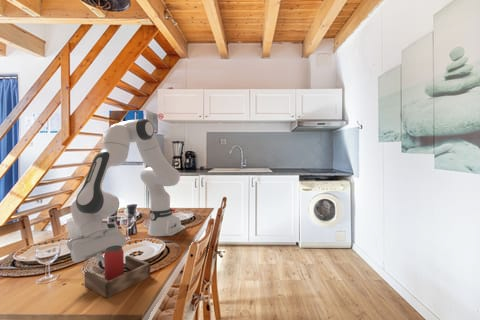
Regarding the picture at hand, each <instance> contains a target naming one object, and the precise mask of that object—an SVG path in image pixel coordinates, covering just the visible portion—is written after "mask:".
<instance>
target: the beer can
mask: <svg viewBox="0 0 480 320" xmlns="http://www.w3.org/2000/svg"><path fill="white" fill-rule="evenodd" d="M124 254H125V253H124V249H123V247H122V246H118V245H117V246H111V247H108V248H107V249H106V252H105V253H104V254H103V255H104V256H103V258H104V279H106V280H108V281H109V280H112V279H114V278H116V277H118V276H120V275H123V274H125V267H124V266H125V257H124V256H125V255H124Z"/></svg>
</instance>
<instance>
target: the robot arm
mask: <svg viewBox="0 0 480 320" xmlns="http://www.w3.org/2000/svg"><path fill="white" fill-rule="evenodd" d="M154 131H155V128H154V125H153V123H152V122H151V121H150V120H149V119H146V118H140V119H129V120H126V121H120V122H119V121H118V122H116V123H114V124H112V125H111V126H109V127H108V129H107V131H106V132H105V133H106V134H105V136H104V137H103V142H102V147H101V149H100V151H99V152H98V153H97V154H96V155H95V156H94V158H93V160H92V163H91V165H90V168H89V170H88V172H87V175H86V178H85V179H84V180H85V181H84V183H83V185H82V186H81V188H80V191H78V194H77V195H76V198H75V200H74V201H73V202H72V203H71V205H70V213H71V218H73V220H74V222H75V224H76V225H77V226H78V231H79V233H80V237H77V238H69V240H68V241H67V242H66V246H67V248H68V250H69V252H70V256H71V260H72V262H73V263H76V264H78V263H81V262H83V261H86V260H90V259H92V258H95V259H96V260H98V261H99V262H101V264H102V266H103V265H104V256H102V255H105V252H106V249H107V248H108V247H111V246H117V245H118V246H122V248H123V247H124V246H125V245H126V243H127V238H126V237H125V235H124V233H123V232H122V231H121V229H119V228H118V227H119V226H118V225H117V223H114V222H113V223H112V222H109V223H108V222H103V220H106V219H107V218H110V217H111V216H113V215H114V214H115V213H117V211H118V210H119V208H120V200H119V198H118V197H117V196H116V195H115V194H112V193H109V192H106V191H104V190H103V189H102V185H103V183H104V180H105V177H106V173H107V170H108V169H109V168H110V167H112V168H113V167H118V166H122V165H123V164H124V163H126V161H127V159H128V156H129V151H130V143H136V146H137V149H138V152H139V154H140V156H141V159H142V161H143V163H144V164H145V165H146V166H147V167H145V168H143V169H141V171H140V180H141V181H142V183H143V184H144V185H145V186H146V188H147V191H148V194H149V205H150V206H149V207H150V209H149V226H148V231H147V235H148V236H151V237H169V236H171V237H172V236H174V235H175V234H178V233H179V232H182V231H183V230H185V229H186V226H184V225H182V222H181V219H180V218H179V217H178V216H177V215H175V214H173V212H176V208H175V207H171V196H170V194H169V193H168V192H167V190H166V189H165V187H171V186H176V185H177V184H179V182H180V180H181V173H180V172H179V170H178V169H177V168H175V167H173V166H172V165H171V163H170V162H168V160H167V159H166V157H165V156H164V154H163V152H162V149H161V146H160V144H159V141H158V139H157V136H156V135H155V132H154Z"/></svg>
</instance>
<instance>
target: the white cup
mask: <svg viewBox="0 0 480 320" xmlns="http://www.w3.org/2000/svg"><path fill="white" fill-rule="evenodd" d="M66 224H67V225H66V227H67V235H68V237H67V238H68V239H73V238H77V237H80V233H79V231H78V226H77V225H76V224H75V222H74V220H73V217H70V218H67V219H66Z"/></svg>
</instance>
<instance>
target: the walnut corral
mask: <svg viewBox="0 0 480 320" xmlns="http://www.w3.org/2000/svg"><path fill="white" fill-rule="evenodd" d="M124 256H125V255H124ZM125 263H126V267H127V268H128V269H130V270H129V271H127V272H124V274H123V275H120V276H118V277H116V278H114V279H112V280H109V281H108V280H106V279H105V277H104V278H103V277H101V276H99V275H97V274H94V273H93V272H91V271H88V270H87V271H85V272H84V286H85V288H88V289H90V290H92V291H93V292H95V293H97V294H99V295H101V296H103V297H105V298H106V299H108V298H111V297H112V296H115V295H117V294H119V293H120V292H122V291H124V290H126V289H129V288H130V287H132V286H134V285H136V284H138V283H140V282H142V281H144V280H146V279H148V278H149V277H151V263H150V262H147V261H145V260H141V259H138V258H137V257H133V256H131V255H126V256H125V257H124V264H125ZM128 269H127V270H128Z"/></svg>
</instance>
